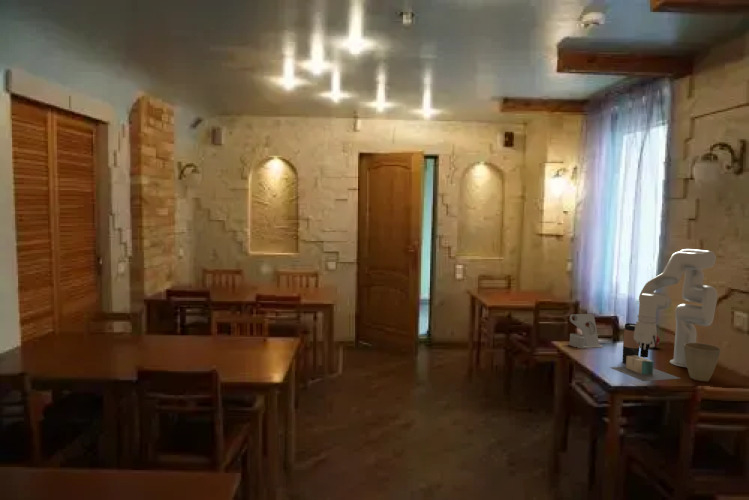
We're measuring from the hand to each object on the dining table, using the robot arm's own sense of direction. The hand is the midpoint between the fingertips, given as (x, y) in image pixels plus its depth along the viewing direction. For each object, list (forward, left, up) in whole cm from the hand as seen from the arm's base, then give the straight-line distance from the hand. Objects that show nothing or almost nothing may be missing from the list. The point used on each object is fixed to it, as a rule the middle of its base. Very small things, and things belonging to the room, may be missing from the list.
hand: (644, 356), depth 270 cm
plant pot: (-20, +14, -8) cm, 26 cm away
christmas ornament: (-48, -44, -8) cm, 66 cm away
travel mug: (-8, -17, -8) cm, 21 cm away
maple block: (0, +3, -4) cm, 5 cm away
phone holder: (-9, -53, -8) cm, 55 cm away
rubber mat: (0, +1, -8) cm, 8 cm away
